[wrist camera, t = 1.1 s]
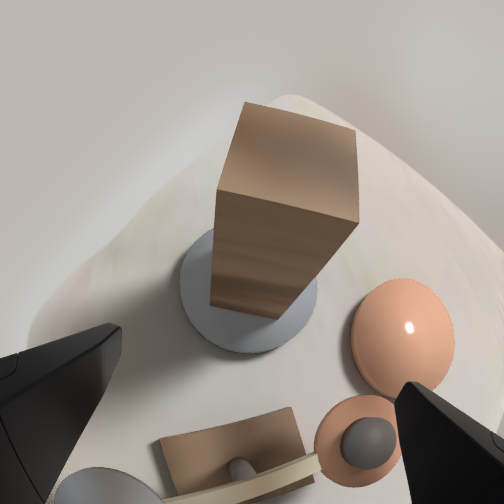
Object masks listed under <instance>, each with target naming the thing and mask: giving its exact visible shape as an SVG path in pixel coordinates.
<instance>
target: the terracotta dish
mask: <svg viewBox="0 0 504 504" xmlns="http://www.w3.org/2000/svg"><path fill="white" fill-rule="evenodd" d="M351 348H352V354H353V357H354V361H355V363H356V366H357V368H358V370H359V372H360V374H361V375H362V377H363V378H364V380H365V381H366V382H367V383H368V384H369V385H370V386H371V387H372V388H373V389H374V390H376V391H377V392H379V393H380V394H382V395H384V396H387V397H390V398H395V399H396V398H397V396H398V394H399V393H400V391H401V389H402V388H403V386H404V384H405V383H406V382H408V381H414V382H419V383H420V384H422V385H423V386H425V387H426V388H428V389H429V390H431V391H432V390H433V389H435V388H436V387H437V386H438V385H439V384H440V383H441V381H442V380H443V379H444V377H445V376H446V374H447V372H448V370H449V368H450V365H451V362H452V359H453V354H454V330H453V326H452V322H451V319H450V316H449V314H448V311H447V309H446V307H445V306H444V304H443V303H442V301H441V300H440V298H439V297H438V296H437V295H436V294H435V293H434V292H433V291H432V290H431V289H430V288H428V287H427V286H425V285H424V284H422V283H420V282H417V281H415V280H411V279H403V278H400V279H393V280H389V281H387V282H385V283H383V284H381V285H380V286H378V287H377V288H375V289H374V290H373V291H371V292H370V293H369V294H368V295H367V296H366V297H365V298H364V299H363V300H362V302H361V303H360V305H359V306H358V308H357V311H356V313H355V315H354V319H353V322H352V327H351Z"/></svg>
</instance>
